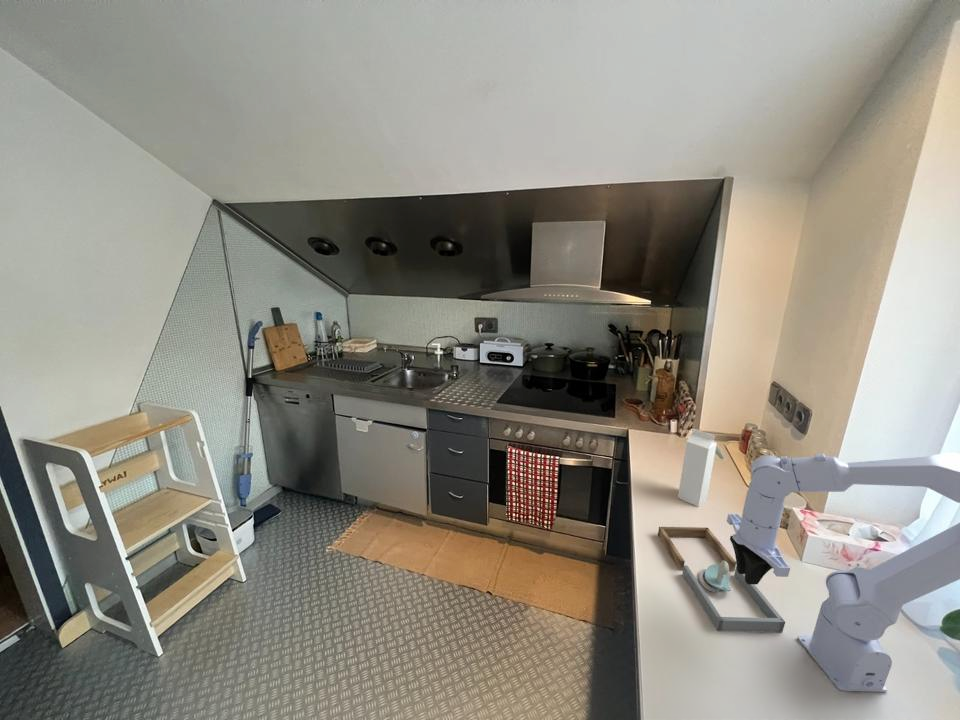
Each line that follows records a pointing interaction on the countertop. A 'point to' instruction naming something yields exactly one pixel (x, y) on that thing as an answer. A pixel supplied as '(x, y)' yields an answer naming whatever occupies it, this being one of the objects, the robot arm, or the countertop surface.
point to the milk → (697, 467)
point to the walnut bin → (692, 533)
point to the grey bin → (738, 623)
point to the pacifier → (716, 577)
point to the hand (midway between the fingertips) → (747, 577)
